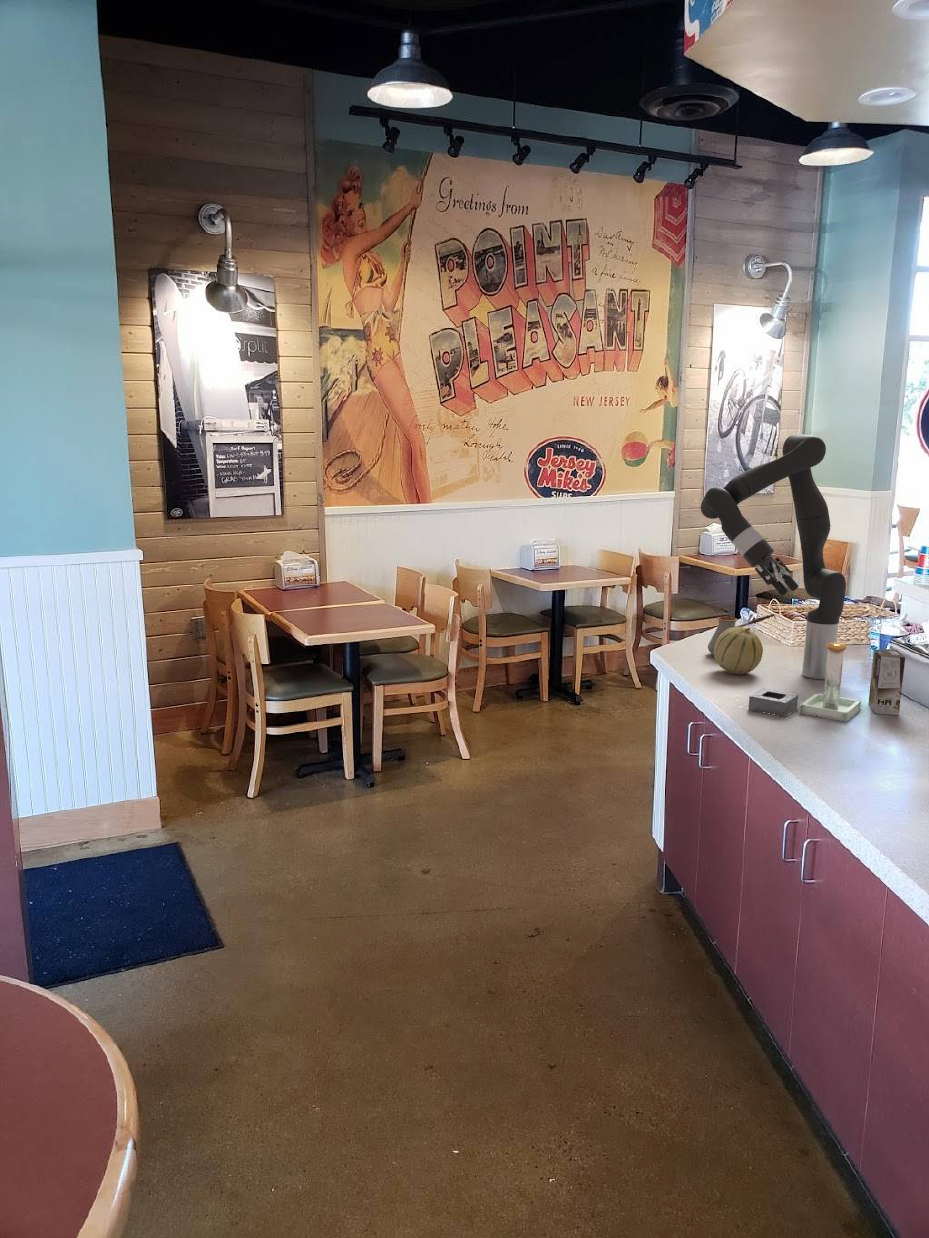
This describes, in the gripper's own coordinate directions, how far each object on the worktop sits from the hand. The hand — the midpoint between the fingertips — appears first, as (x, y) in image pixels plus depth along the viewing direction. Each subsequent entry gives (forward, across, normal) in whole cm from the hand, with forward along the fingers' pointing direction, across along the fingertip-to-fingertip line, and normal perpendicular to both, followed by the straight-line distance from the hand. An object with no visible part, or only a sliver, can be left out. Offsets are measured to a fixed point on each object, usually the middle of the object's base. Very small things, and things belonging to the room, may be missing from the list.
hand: (790, 591), depth 262 cm
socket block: (+22, -11, +21) cm, 33 cm away
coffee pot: (+3, +40, +42) cm, 59 cm away
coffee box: (+40, +8, +5) cm, 41 cm away
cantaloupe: (+7, +19, +37) cm, 43 cm away
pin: (+31, -3, +12) cm, 34 cm away
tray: (+32, -3, +12) cm, 34 cm away
